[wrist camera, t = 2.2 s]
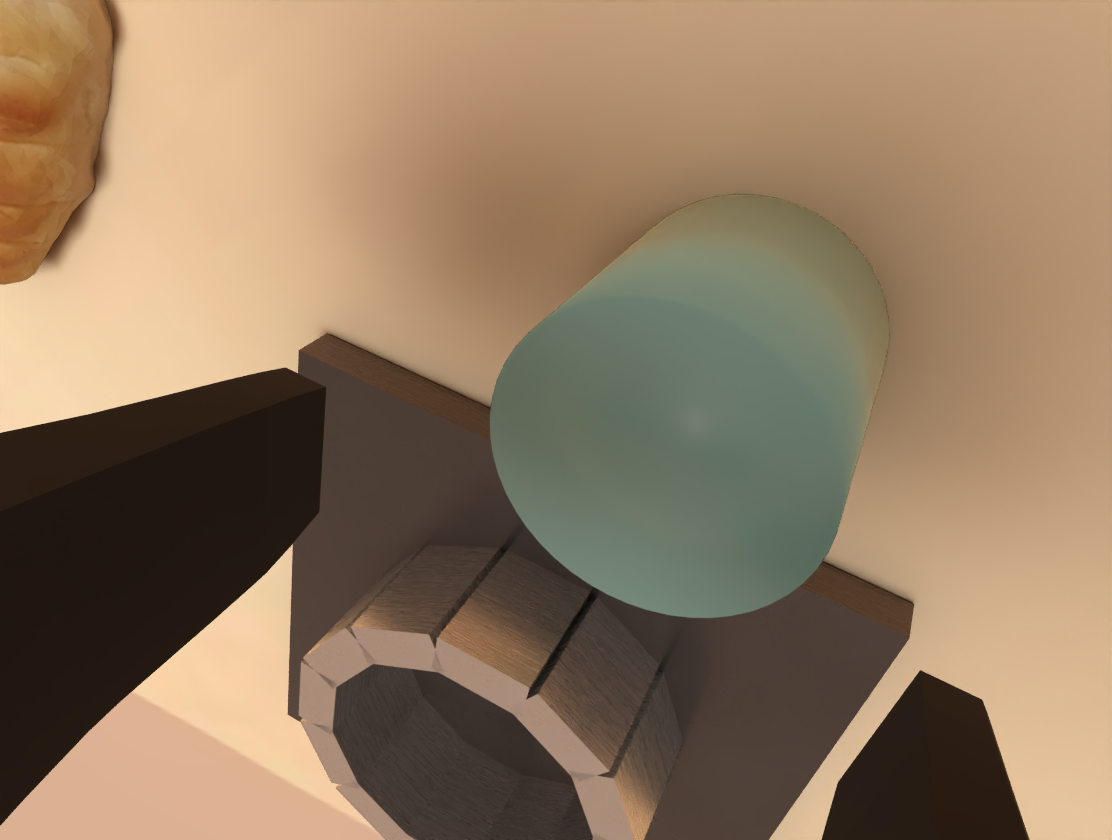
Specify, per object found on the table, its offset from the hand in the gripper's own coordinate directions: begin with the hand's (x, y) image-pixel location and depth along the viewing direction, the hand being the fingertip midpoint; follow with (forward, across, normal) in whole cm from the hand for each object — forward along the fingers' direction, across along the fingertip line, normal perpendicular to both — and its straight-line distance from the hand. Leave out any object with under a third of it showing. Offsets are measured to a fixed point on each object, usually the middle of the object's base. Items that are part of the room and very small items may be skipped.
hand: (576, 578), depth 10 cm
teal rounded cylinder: (+7, 0, 0) cm, 7 cm away
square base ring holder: (+7, +2, +11) cm, 13 cm away
